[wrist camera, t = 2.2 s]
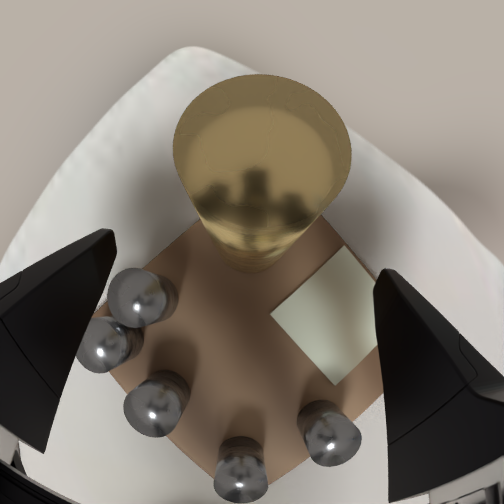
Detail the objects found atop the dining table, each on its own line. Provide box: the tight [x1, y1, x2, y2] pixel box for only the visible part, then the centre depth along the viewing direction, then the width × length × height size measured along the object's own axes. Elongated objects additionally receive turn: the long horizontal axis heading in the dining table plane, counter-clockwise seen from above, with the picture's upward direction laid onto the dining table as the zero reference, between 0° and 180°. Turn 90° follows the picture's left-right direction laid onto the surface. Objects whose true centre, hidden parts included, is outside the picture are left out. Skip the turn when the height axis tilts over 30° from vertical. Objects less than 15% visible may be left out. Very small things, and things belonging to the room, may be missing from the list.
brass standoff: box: [173, 74, 351, 273], centre depth 13 cm, size 4×4×12 cm
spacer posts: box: [76, 268, 362, 503], centre depth 15 cm, size 9×16×4 cm, turn 41°
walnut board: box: [92, 214, 383, 485], centre depth 18 cm, size 18×17×1 cm
